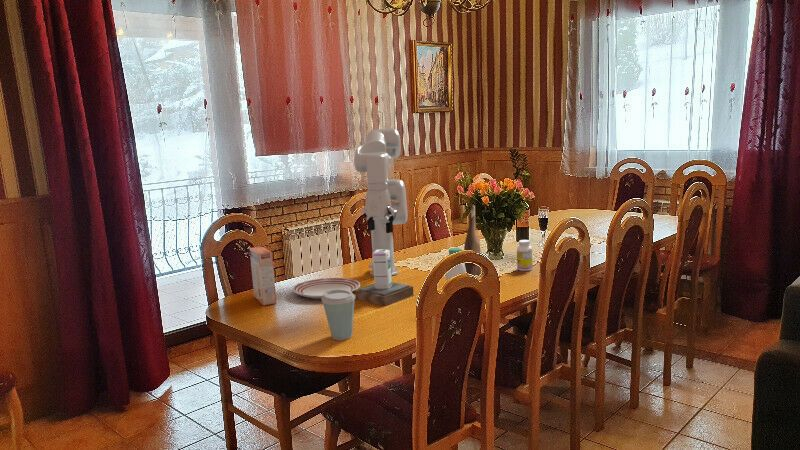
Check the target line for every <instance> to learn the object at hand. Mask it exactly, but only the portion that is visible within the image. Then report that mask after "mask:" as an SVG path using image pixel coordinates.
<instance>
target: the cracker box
mask: <svg viewBox="0 0 800 450" xmlns="http://www.w3.org/2000/svg"><path fill="white" fill-rule="evenodd" d="M249 256H250V257H249V258H250V267H251V268H250V269H251V276H252V278H251V280H252V289H253V298H254V297H255V298H256V299H257V300H258V301H259V302H260V303H259V302H258V303H259V304H260V305H261V306H264V307H265V306H270V305H275V303H276V304H277V292H276V281H275V280H276V279H275V270H274V257H273V256H274V255H273V251H271V250H269V249H267V248H266V247H265V246H255V247H249ZM255 298H254V299H255ZM256 299H255V300H256ZM257 300H256V301H257Z"/></svg>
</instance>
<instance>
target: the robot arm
mask: <svg viewBox="0 0 800 450" xmlns="http://www.w3.org/2000/svg"><path fill="white" fill-rule="evenodd" d="M365 136H366V137H365V142H363V143H362V144H361V145H360V146H358V147H357V148H356V149H355V152H354V155H353V157H354V158H353V159H354V160H353V164H354V165H353V166H354V169H355V171H356V172H357V173H362V174H363V173H366V179H367V181H366V182H367V184H366V187H367V190H366V192H365V206H364V207H363V208H362V209H361V211H362V212H363V217H364V218H365V220H366V221H367V222H366V223H367V231H369V232H370V235H371V247H372V249H371V250H372V253H373V252H375V251H376V250H380V249H388V250H390V260H391V273H392V277H393V276H395V275H397V274H398V273H399V269H398V268H396V266H395V251H394V250H395V249H394V248H395V247H394V237H393V236H394V235H393V232H394V226H395V225H403V224H405V223H407V221H408V217H409V215H408V214H409V213H408V212H409V211H408V203H407V202H408V201H407V192H406V185H405V183H404V181H403V180H402V179H399V178H398V179H389V172H388V171H389V170H390V168H391V166H392V159H397V158H399V157H400V156H401V153H402V147H401V145H402V142H401V140H402V139H401V135H400V133H399V131H398V130H397V129H396V128H379V129H378V128H377V129H371V130H369V132H368V133H367V134H366V135H365ZM368 267H369V268H371V270H370V276H372V277H374V269H373V261H371V262H370V263H369V264H368Z"/></svg>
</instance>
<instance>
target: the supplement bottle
mask: <svg viewBox="0 0 800 450" xmlns="http://www.w3.org/2000/svg"><path fill="white" fill-rule="evenodd" d="M518 245H519V246H517V248H516V268H517V270H518V271H521V272H527V271H528V272H529V271H532V270H533V248H532V246H531V245H530V239H520V240H519V241H518Z"/></svg>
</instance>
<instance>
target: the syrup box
mask: <svg viewBox="0 0 800 450" xmlns="http://www.w3.org/2000/svg"><path fill="white" fill-rule="evenodd" d="M371 256H372V262H373V269H374V276H373V278H374V279H373V280H374V284H375V289H389V288H390V287H391V286H392V282H393V276H392V273H391V260H390V250H388V249H380V250H376V251H375V252H372V255H371Z"/></svg>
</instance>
